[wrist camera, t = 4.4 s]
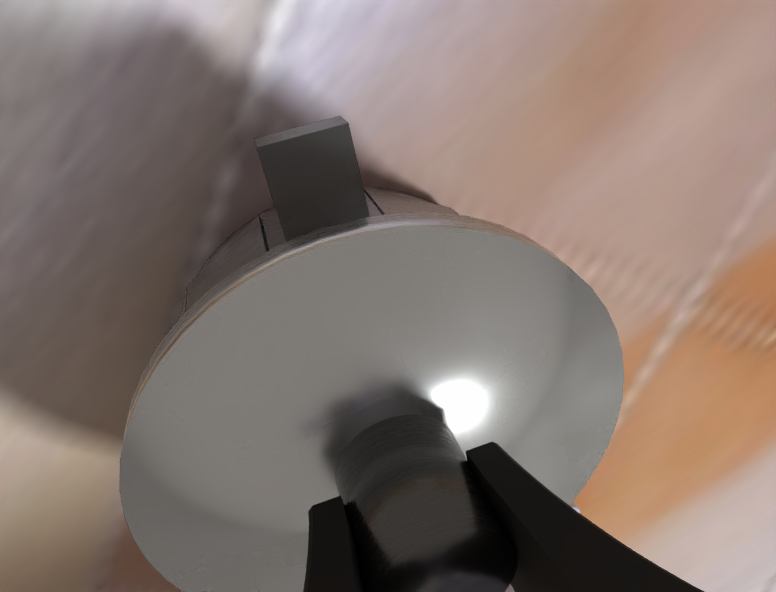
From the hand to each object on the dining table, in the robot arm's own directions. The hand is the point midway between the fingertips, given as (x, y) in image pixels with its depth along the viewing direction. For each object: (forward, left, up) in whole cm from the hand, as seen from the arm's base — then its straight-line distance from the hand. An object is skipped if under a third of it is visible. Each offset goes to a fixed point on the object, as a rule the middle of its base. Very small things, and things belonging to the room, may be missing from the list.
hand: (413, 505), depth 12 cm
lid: (0, 0, -3) cm, 3 cm away
